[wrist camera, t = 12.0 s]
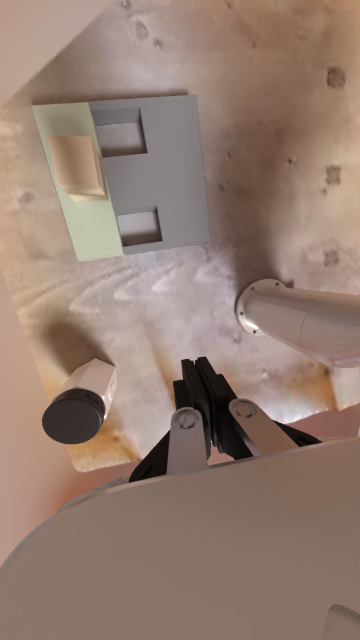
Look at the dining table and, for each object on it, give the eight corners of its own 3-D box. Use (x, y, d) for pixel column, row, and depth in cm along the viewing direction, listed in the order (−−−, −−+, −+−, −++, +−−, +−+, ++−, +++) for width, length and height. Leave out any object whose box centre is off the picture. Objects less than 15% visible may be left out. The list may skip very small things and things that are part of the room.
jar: (118, 393, 39) (104, 443, 27) (79, 396, 37) (46, 450, 26) (116, 356, 36) (99, 394, 25) (74, 358, 35) (36, 399, 24)
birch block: (102, 161, 26) (90, 136, 21) (108, 200, 27) (98, 184, 22) (67, 161, 25) (46, 135, 21) (75, 201, 27) (57, 184, 22)
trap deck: (192, 110, 28) (196, 94, 26) (206, 242, 33) (211, 240, 31) (41, 120, 26) (30, 104, 23) (83, 261, 31) (77, 260, 29)
